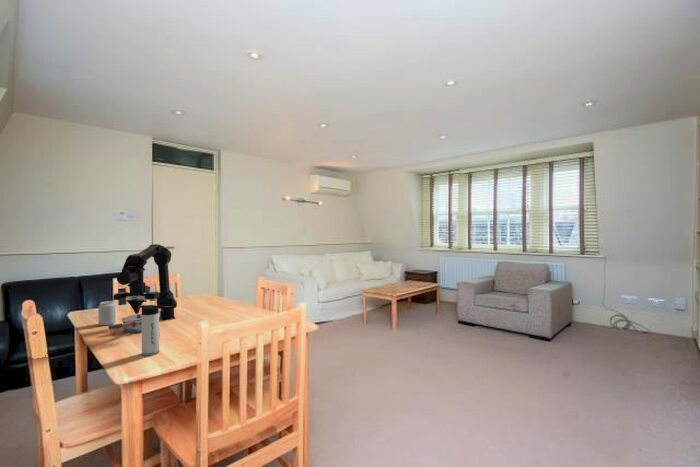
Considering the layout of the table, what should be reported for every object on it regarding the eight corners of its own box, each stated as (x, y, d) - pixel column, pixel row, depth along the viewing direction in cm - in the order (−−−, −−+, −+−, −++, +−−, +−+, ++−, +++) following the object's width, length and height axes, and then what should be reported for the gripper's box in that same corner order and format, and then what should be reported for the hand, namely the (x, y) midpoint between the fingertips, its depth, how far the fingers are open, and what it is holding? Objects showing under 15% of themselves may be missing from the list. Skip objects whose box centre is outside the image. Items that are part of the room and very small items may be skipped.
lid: (131, 316, 180) (131, 311, 180) (160, 315, 182) (160, 310, 182) (109, 327, 160) (109, 322, 160) (142, 326, 162) (142, 321, 162)
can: (106, 326, 179) (106, 303, 178) (95, 325, 180) (94, 303, 180) (119, 322, 186) (118, 300, 186) (107, 321, 188) (107, 300, 187)
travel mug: (145, 350, 144) (145, 303, 144) (162, 350, 145) (161, 303, 144) (137, 356, 138) (137, 307, 138) (154, 355, 139) (154, 307, 138)
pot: (156, 322, 186) (156, 313, 186) (165, 327, 177) (165, 318, 176) (105, 332, 169) (105, 322, 169) (112, 338, 160) (112, 328, 160)
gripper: (164, 278, 172) (165, 309, 172) (126, 278, 170) (126, 309, 171) (153, 282, 160) (153, 315, 161) (112, 282, 159) (112, 315, 160)
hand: (137, 313), depth 163 cm, fingers closed
